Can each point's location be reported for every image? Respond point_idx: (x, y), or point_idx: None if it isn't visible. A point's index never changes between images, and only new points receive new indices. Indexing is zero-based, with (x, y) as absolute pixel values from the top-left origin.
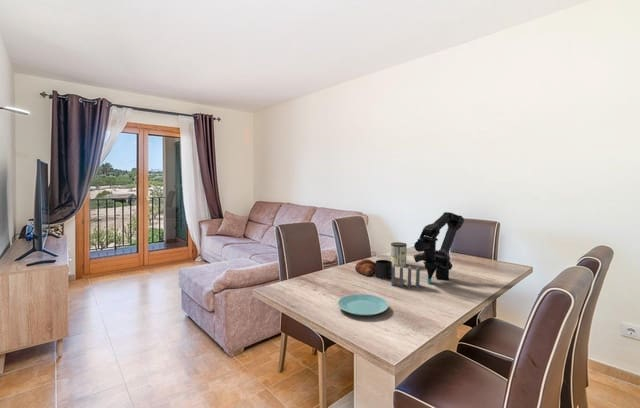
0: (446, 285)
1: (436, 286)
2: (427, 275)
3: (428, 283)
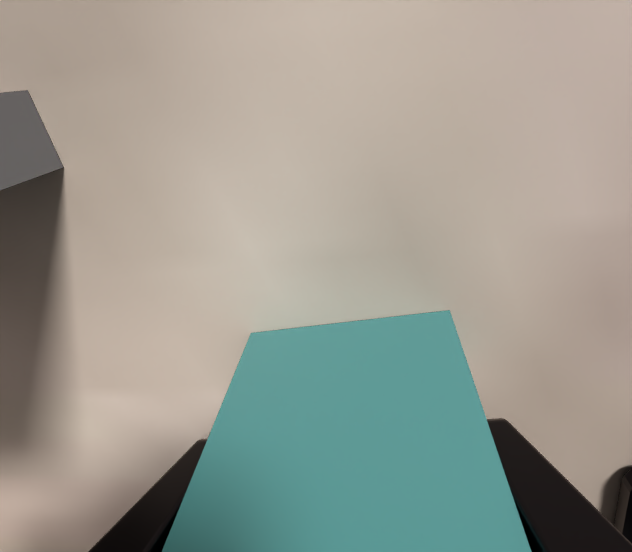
0: None
1: None
2: (478, 412)
3: (249, 347)
